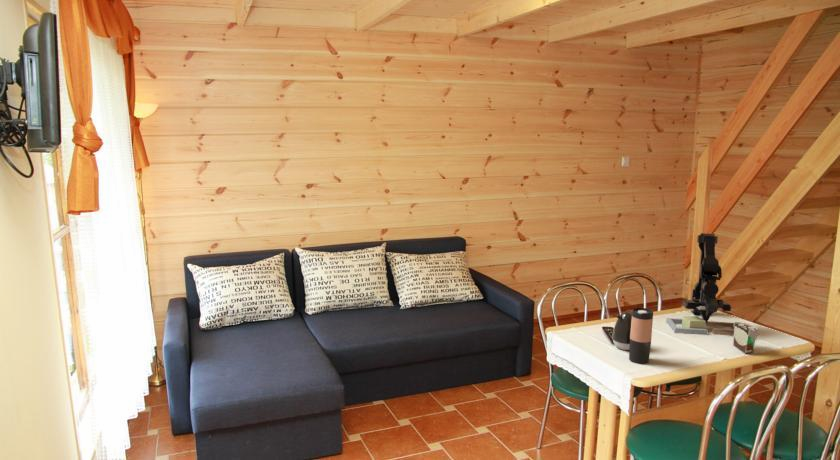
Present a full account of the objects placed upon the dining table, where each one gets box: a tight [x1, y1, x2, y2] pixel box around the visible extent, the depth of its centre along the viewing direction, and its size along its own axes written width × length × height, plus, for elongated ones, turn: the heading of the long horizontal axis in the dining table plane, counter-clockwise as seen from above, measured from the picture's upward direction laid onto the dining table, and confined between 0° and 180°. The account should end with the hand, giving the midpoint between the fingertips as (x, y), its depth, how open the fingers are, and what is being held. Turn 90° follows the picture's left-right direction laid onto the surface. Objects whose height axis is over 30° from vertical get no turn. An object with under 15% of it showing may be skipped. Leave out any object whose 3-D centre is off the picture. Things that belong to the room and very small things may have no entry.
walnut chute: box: [705, 320, 734, 336], centre depth 262 cm, size 12×16×2 cm
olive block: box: [681, 315, 706, 329], centre depth 263 cm, size 7×7×5 cm
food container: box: [732, 321, 759, 355], centre depth 238 cm, size 12×6×10 cm, turn 179°
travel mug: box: [628, 307, 654, 365], centre depth 225 cm, size 8×8×20 cm
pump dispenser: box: [611, 311, 632, 351], centre depth 238 cm, size 10×10×15 cm
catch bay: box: [665, 317, 709, 336], centre depth 265 cm, size 15×14×2 cm
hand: (704, 323), depth 263 cm, fingers closed
